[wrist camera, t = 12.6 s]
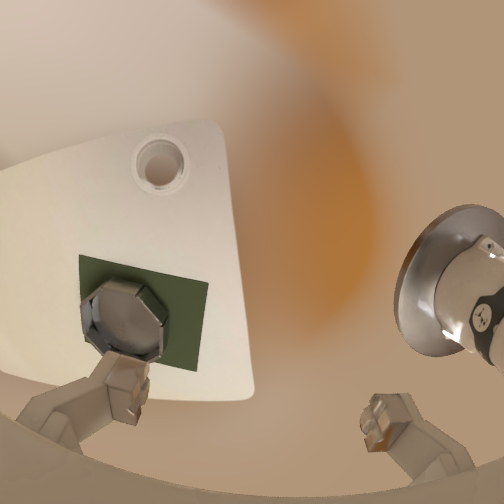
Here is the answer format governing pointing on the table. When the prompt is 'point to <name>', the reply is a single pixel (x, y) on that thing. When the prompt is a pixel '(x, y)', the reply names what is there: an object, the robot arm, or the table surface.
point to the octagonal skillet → (125, 320)
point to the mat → (170, 297)
